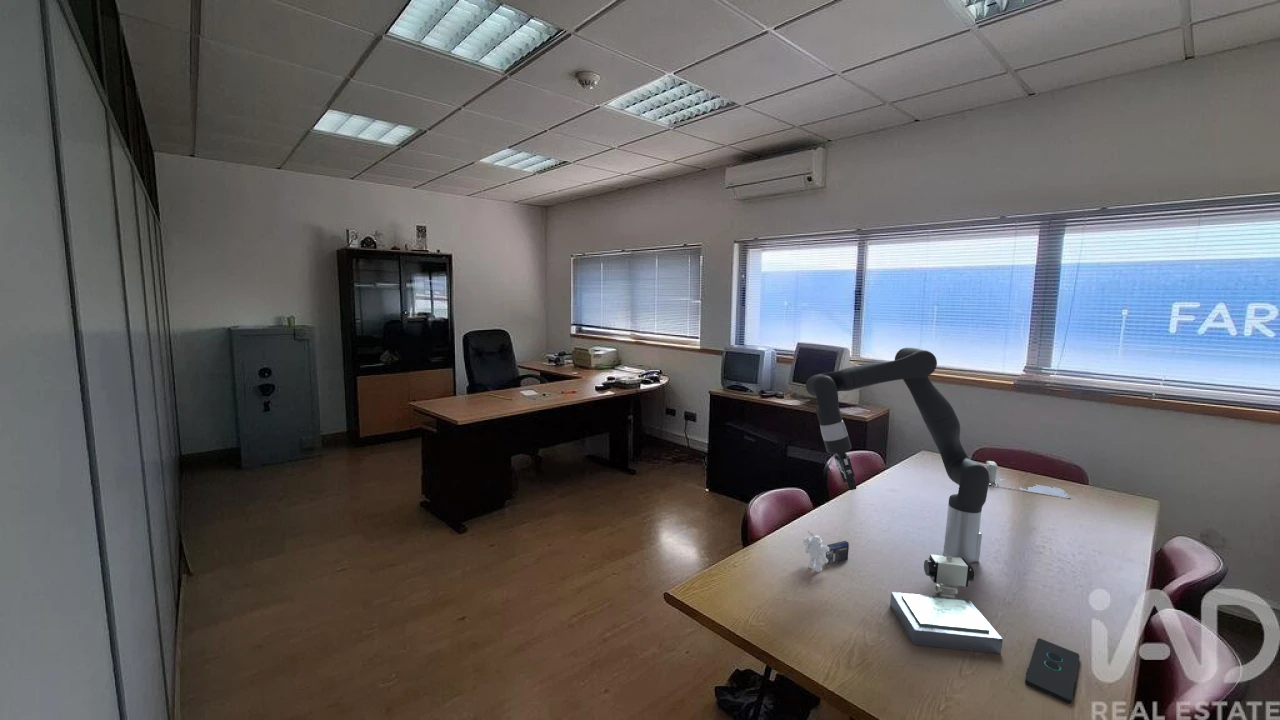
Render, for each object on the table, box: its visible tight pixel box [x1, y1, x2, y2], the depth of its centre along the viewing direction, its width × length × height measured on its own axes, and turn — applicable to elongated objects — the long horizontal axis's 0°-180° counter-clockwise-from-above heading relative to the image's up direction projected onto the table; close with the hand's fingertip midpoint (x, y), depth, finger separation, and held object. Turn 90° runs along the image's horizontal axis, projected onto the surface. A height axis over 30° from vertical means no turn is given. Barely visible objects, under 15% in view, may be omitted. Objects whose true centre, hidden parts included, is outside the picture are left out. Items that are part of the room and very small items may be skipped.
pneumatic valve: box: [923, 554, 975, 598], centre depth 143 cm, size 6×12×12 cm, turn 78°
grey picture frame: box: [889, 591, 1003, 655], centre depth 129 cm, size 20×16×5 cm
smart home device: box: [1024, 638, 1080, 705], centre depth 115 cm, size 8×2×20 cm
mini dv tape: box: [825, 540, 850, 565], centre depth 161 cm, size 8×2×6 cm, turn 114°
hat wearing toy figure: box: [803, 530, 830, 573], centre depth 156 cm, size 9×4×12 cm, turn 35°
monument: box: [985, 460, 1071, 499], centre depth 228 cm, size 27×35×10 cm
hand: (849, 485), depth 156 cm, fingers open, 8 cm apart
